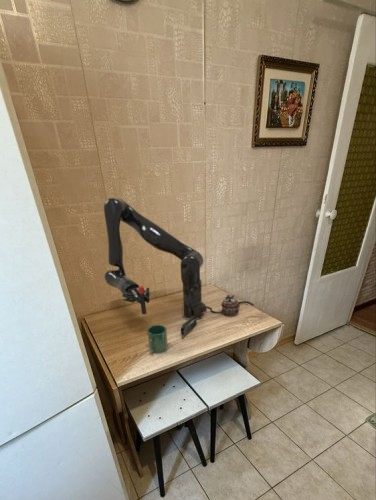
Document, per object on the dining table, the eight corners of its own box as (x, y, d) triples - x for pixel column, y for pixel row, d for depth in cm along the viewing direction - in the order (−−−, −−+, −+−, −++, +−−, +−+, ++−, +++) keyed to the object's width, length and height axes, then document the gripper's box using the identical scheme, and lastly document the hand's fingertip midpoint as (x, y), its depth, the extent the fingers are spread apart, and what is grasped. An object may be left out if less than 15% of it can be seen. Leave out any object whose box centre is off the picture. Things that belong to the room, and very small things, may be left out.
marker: (146, 312, 124) (144, 286, 117) (146, 314, 122) (143, 288, 116) (142, 312, 124) (138, 286, 117) (141, 314, 122) (137, 288, 116)
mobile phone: (192, 314, 139) (178, 328, 127) (197, 315, 137) (184, 329, 126) (192, 323, 141) (178, 337, 130) (197, 324, 140) (184, 339, 129)
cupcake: (239, 318, 144) (240, 300, 139) (220, 316, 146) (221, 299, 140) (239, 309, 152) (240, 292, 146) (221, 308, 153) (222, 291, 148)
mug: (154, 341, 128) (152, 323, 123) (170, 344, 126) (169, 326, 120) (143, 354, 119) (140, 336, 114) (160, 358, 117) (158, 340, 112)
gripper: (113, 283, 124) (129, 297, 112) (141, 276, 131) (159, 289, 118) (115, 299, 128) (131, 314, 116) (143, 291, 135) (160, 305, 123)
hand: (145, 301), depth 117 cm, fingers closed on marker, 2 cm apart
